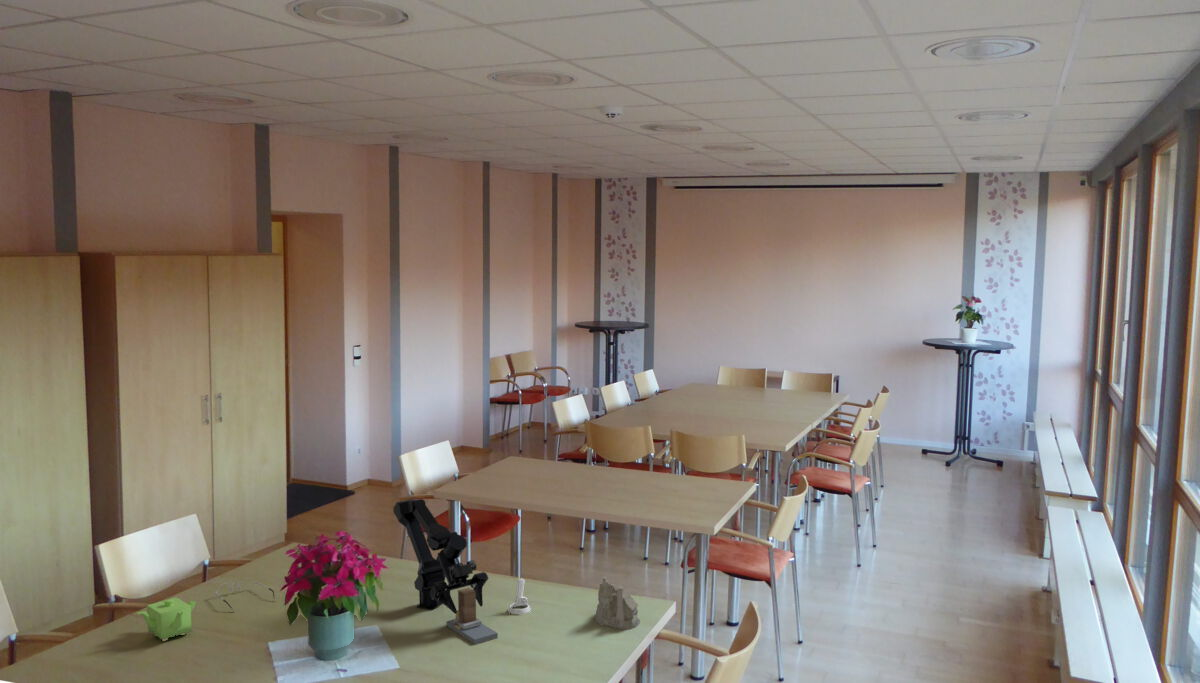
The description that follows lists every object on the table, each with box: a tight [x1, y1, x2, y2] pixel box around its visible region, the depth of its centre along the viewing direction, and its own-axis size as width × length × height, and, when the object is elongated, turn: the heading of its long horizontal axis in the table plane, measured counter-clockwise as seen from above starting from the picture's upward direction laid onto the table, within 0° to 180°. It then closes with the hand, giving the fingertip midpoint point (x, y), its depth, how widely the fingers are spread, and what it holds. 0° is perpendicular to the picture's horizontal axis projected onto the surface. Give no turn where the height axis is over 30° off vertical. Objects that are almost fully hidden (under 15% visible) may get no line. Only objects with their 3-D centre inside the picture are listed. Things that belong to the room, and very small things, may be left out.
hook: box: [507, 578, 532, 615], centre depth 306 cm, size 8×12×7 cm
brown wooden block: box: [453, 587, 482, 629], centre depth 289 cm, size 7×6×11 cm
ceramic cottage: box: [594, 576, 641, 630], centre depth 297 cm, size 16×16×15 cm
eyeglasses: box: [214, 577, 275, 609], centre depth 316 cm, size 16×19×5 cm
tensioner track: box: [445, 609, 499, 645], centre depth 287 cm, size 18×8×4 cm, turn 38°
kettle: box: [136, 597, 197, 640], centre depth 286 cm, size 15×14×11 cm
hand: (469, 609), depth 288 cm, fingers open, 9 cm apart
